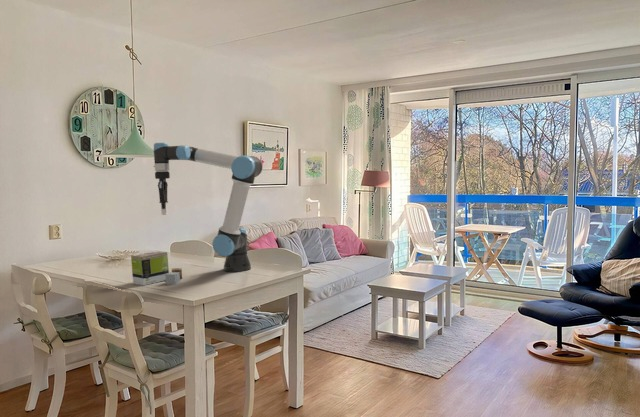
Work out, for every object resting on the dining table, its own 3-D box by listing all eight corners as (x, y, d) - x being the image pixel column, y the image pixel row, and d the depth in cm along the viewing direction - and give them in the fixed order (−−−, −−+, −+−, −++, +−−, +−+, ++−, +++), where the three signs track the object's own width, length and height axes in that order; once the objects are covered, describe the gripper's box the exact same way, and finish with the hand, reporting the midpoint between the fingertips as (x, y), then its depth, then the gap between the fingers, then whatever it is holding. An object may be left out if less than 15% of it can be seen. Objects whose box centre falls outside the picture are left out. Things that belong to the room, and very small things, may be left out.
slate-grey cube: (179, 282, 246) (179, 272, 245) (175, 284, 241) (174, 274, 240) (170, 282, 246) (170, 272, 246) (165, 284, 242) (165, 274, 241)
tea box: (158, 277, 257) (157, 250, 256) (169, 280, 251) (168, 251, 250) (132, 283, 246) (130, 254, 245) (143, 286, 239) (141, 256, 238)
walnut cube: (182, 277, 258) (181, 267, 257) (182, 279, 253) (181, 269, 252) (172, 278, 256) (171, 268, 256) (172, 279, 251) (171, 270, 251)
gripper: (157, 171, 270) (160, 213, 272) (152, 171, 257) (154, 216, 259) (171, 171, 271) (173, 213, 273) (166, 171, 258) (169, 215, 260)
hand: (164, 214), depth 266 cm, fingers closed
